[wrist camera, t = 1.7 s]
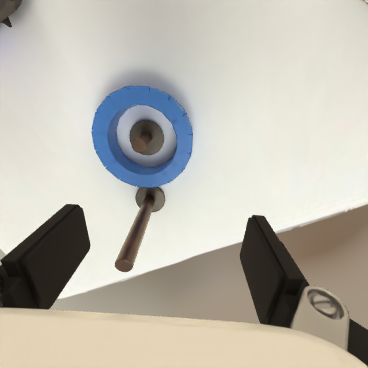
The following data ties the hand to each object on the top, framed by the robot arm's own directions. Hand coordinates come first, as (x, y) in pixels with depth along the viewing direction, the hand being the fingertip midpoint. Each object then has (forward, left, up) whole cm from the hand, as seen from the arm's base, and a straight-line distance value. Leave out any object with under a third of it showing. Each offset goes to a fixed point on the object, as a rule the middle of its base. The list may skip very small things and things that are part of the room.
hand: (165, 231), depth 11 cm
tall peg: (+5, +8, -19) cm, 21 cm away
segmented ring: (+5, -2, -19) cm, 20 cm away
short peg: (+5, -2, -19) cm, 20 cm away
